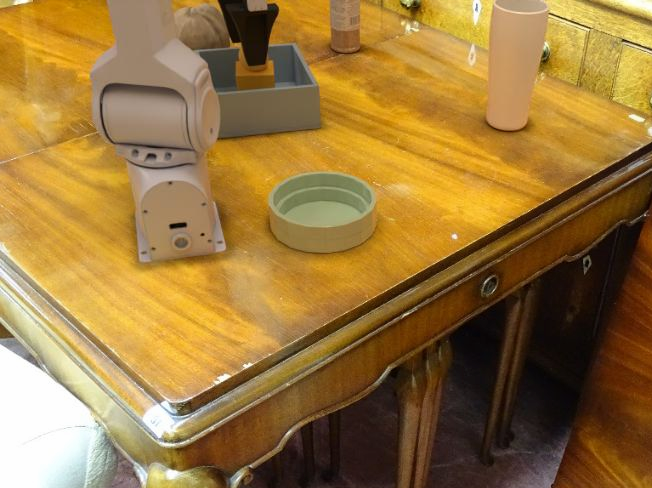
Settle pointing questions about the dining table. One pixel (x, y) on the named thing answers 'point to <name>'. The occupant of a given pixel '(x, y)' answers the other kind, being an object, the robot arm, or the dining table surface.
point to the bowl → (322, 211)
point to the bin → (265, 94)
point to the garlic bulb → (201, 27)
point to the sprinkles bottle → (345, 25)
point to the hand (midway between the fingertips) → (248, 52)
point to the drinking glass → (514, 60)
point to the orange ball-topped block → (254, 74)
